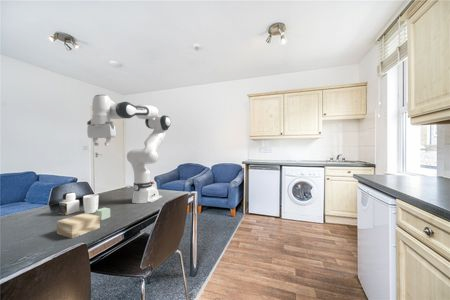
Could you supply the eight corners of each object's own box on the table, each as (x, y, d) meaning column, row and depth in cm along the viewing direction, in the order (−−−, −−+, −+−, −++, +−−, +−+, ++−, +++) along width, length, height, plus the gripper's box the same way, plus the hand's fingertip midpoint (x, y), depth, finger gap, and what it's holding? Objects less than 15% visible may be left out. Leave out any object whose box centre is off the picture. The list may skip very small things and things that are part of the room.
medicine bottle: (58, 213, 111) (58, 194, 110) (71, 210, 117) (71, 191, 117) (66, 215, 108) (66, 195, 108) (79, 211, 115) (79, 192, 115)
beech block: (85, 224, 96) (85, 212, 96) (99, 228, 92) (99, 216, 91) (56, 233, 85) (56, 221, 85) (72, 239, 80) (72, 225, 80)
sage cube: (104, 215, 107) (104, 207, 107) (110, 217, 105) (110, 208, 105) (95, 218, 103) (95, 210, 103) (101, 220, 101) (101, 211, 101)
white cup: (90, 214, 110) (90, 197, 109) (79, 213, 111) (79, 197, 111) (101, 210, 117) (101, 194, 117) (91, 209, 119) (91, 193, 119)
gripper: (118, 121, 107) (118, 145, 107) (95, 123, 114) (95, 145, 114) (108, 120, 101) (108, 145, 101) (85, 122, 109) (85, 145, 109)
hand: (101, 145), depth 108 cm, fingers open, 8 cm apart
